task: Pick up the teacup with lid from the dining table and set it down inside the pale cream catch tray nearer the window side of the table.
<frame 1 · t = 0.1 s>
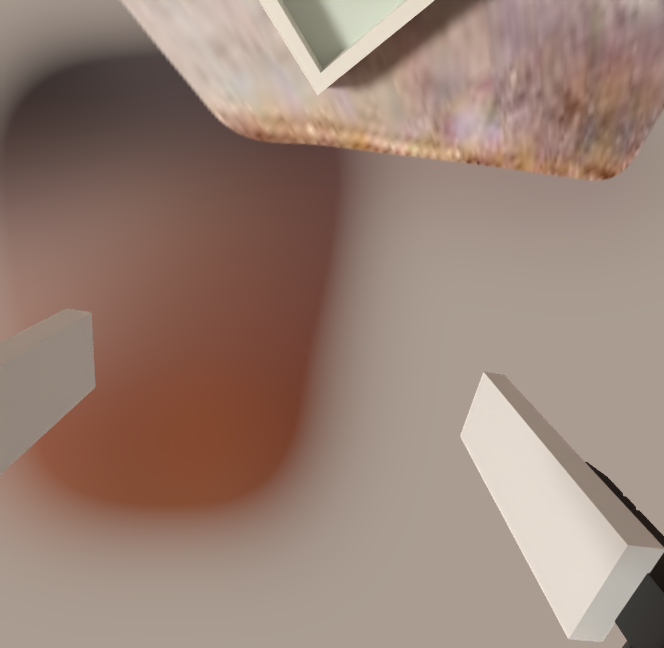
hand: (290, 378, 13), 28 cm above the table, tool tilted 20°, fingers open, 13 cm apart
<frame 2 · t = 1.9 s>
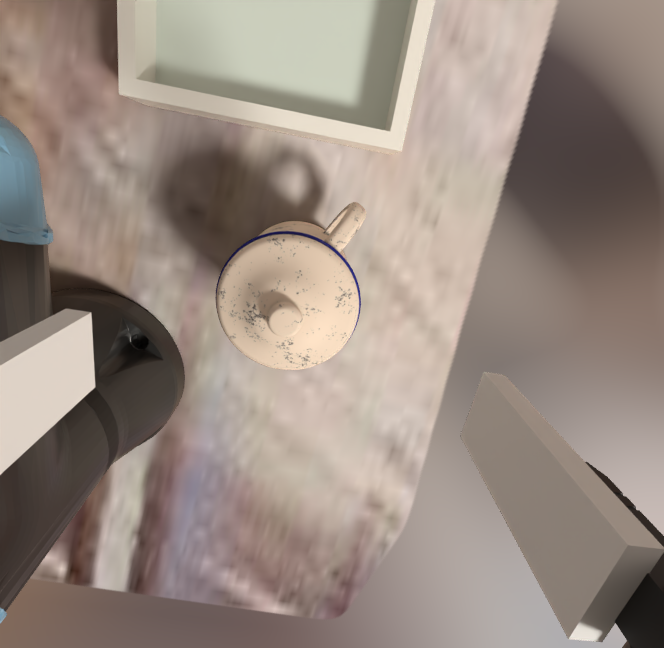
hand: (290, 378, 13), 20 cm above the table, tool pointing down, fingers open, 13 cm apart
teacup with lid: (307, 259, 31), on the table
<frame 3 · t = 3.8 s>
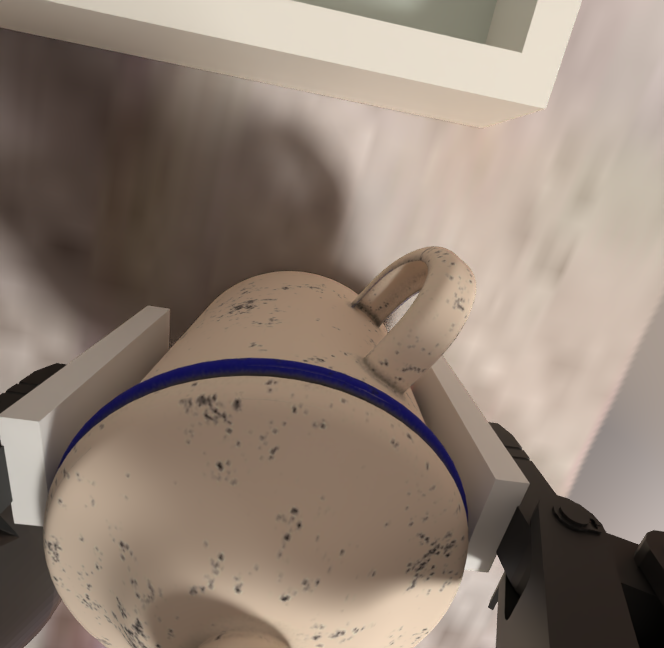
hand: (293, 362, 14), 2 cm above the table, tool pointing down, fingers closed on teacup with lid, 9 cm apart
teacup with lid: (314, 340, 16), on the table, touching gripper
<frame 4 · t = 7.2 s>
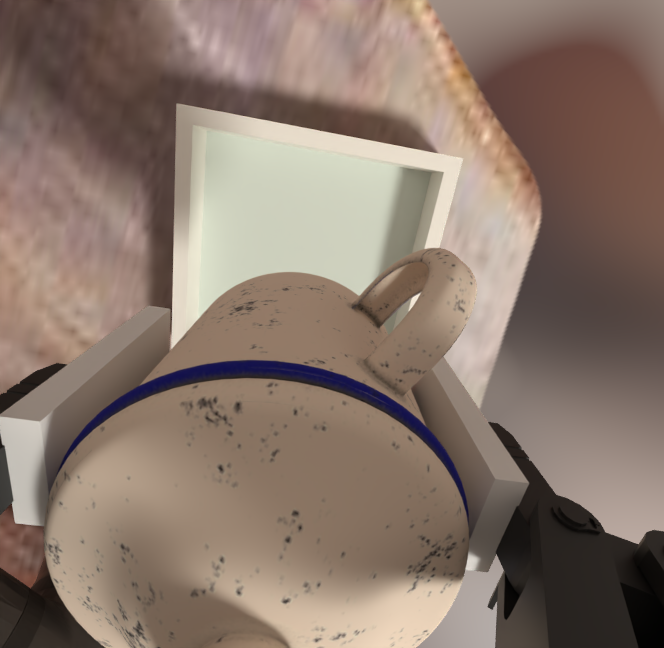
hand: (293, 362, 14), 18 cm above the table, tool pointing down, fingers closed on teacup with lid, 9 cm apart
catch tray: (306, 260, 30), on the table
teacup with lid: (314, 341, 16), point 15 cm above the table, touching gripper
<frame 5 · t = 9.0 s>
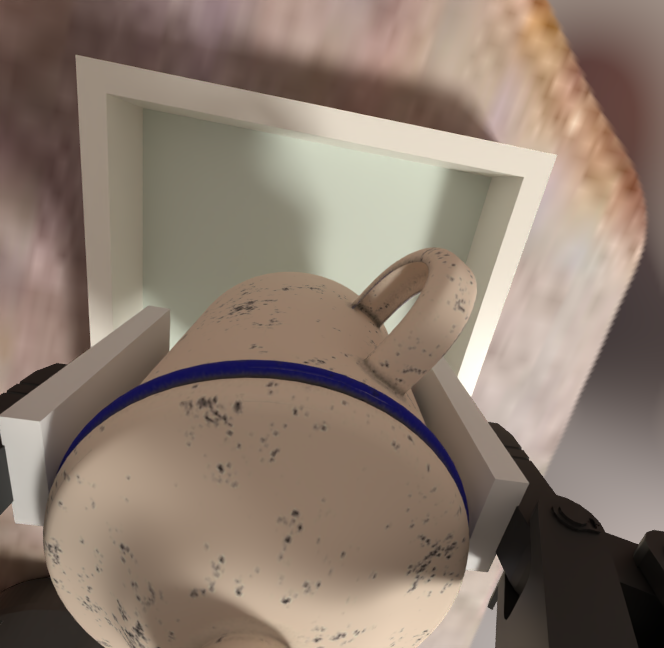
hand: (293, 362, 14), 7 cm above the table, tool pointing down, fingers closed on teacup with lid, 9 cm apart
catch tray: (300, 303, 21), on the table
teacup with lid: (314, 341, 16), point 5 cm above the table, touching gripper
when the fingers open (5 cm above the table, at t = 10.5 s): teacup with lid drops 2 cm, resting on catch tray.
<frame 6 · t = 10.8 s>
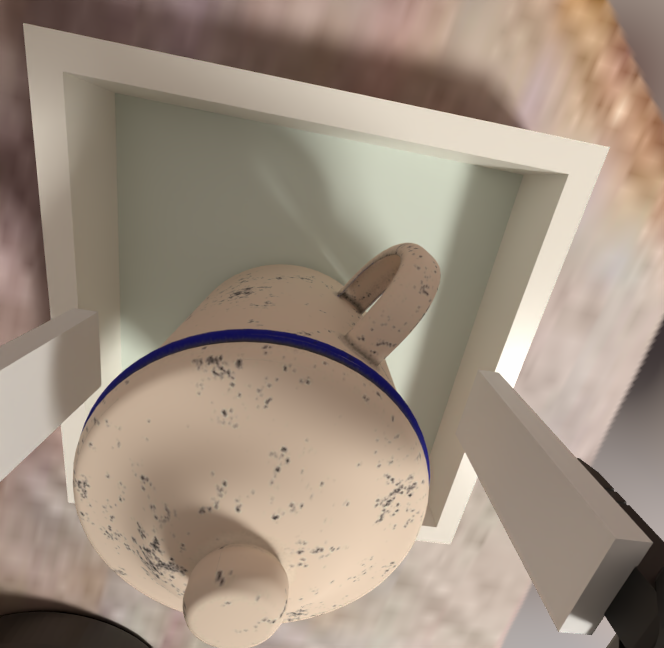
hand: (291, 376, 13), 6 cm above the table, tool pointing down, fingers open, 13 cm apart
catch tray: (300, 318, 18), on the table
teacup with lid: (304, 328, 18), point 1 cm above the table, touching catch tray
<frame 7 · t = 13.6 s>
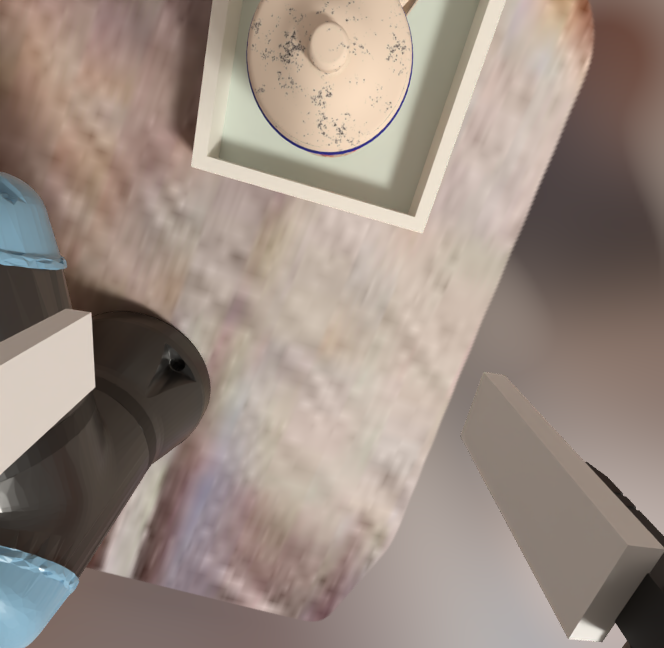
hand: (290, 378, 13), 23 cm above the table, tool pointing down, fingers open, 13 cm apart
catch tray: (342, 79, 29), on the table
teacup with lid: (345, 80, 28), point 1 cm above the table, touching catch tray
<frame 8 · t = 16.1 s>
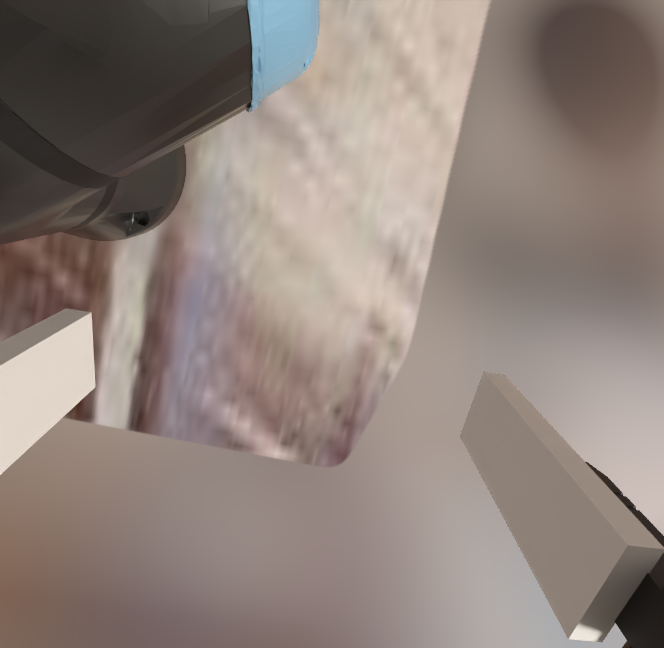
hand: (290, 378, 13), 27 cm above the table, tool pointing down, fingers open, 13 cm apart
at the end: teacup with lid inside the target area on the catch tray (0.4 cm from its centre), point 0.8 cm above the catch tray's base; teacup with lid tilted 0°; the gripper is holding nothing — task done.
